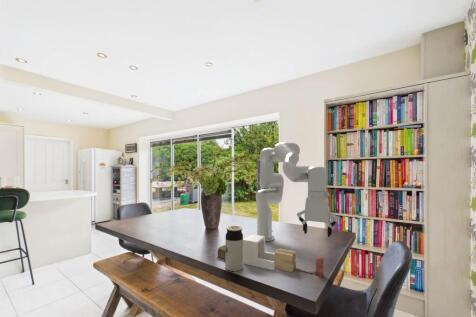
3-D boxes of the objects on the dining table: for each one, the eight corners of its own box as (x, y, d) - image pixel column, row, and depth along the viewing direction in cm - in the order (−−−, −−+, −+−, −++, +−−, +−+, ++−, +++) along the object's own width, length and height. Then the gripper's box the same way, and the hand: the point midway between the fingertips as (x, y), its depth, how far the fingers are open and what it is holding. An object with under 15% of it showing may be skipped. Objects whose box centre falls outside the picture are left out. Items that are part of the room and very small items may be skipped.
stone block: (224, 253, 119) (224, 244, 120) (241, 259, 112) (241, 249, 112) (216, 256, 115) (216, 247, 115) (233, 263, 107) (233, 252, 108)
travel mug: (242, 264, 106) (242, 225, 107) (243, 271, 98) (243, 229, 99) (225, 264, 106) (225, 225, 107) (225, 271, 98) (225, 229, 99)
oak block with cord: (279, 263, 107) (278, 248, 108) (324, 273, 97) (324, 256, 98) (274, 268, 102) (274, 252, 102) (322, 278, 92) (322, 261, 92)
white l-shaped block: (252, 255, 116) (252, 234, 117) (280, 261, 109) (280, 238, 109) (242, 263, 107) (243, 239, 107) (273, 270, 100) (273, 244, 100)
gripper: (339, 195, 97) (339, 235, 97) (298, 192, 105) (298, 229, 105) (337, 197, 91) (338, 240, 90) (294, 194, 99) (295, 233, 98)
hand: (317, 234), depth 97 cm, fingers open, 9 cm apart
